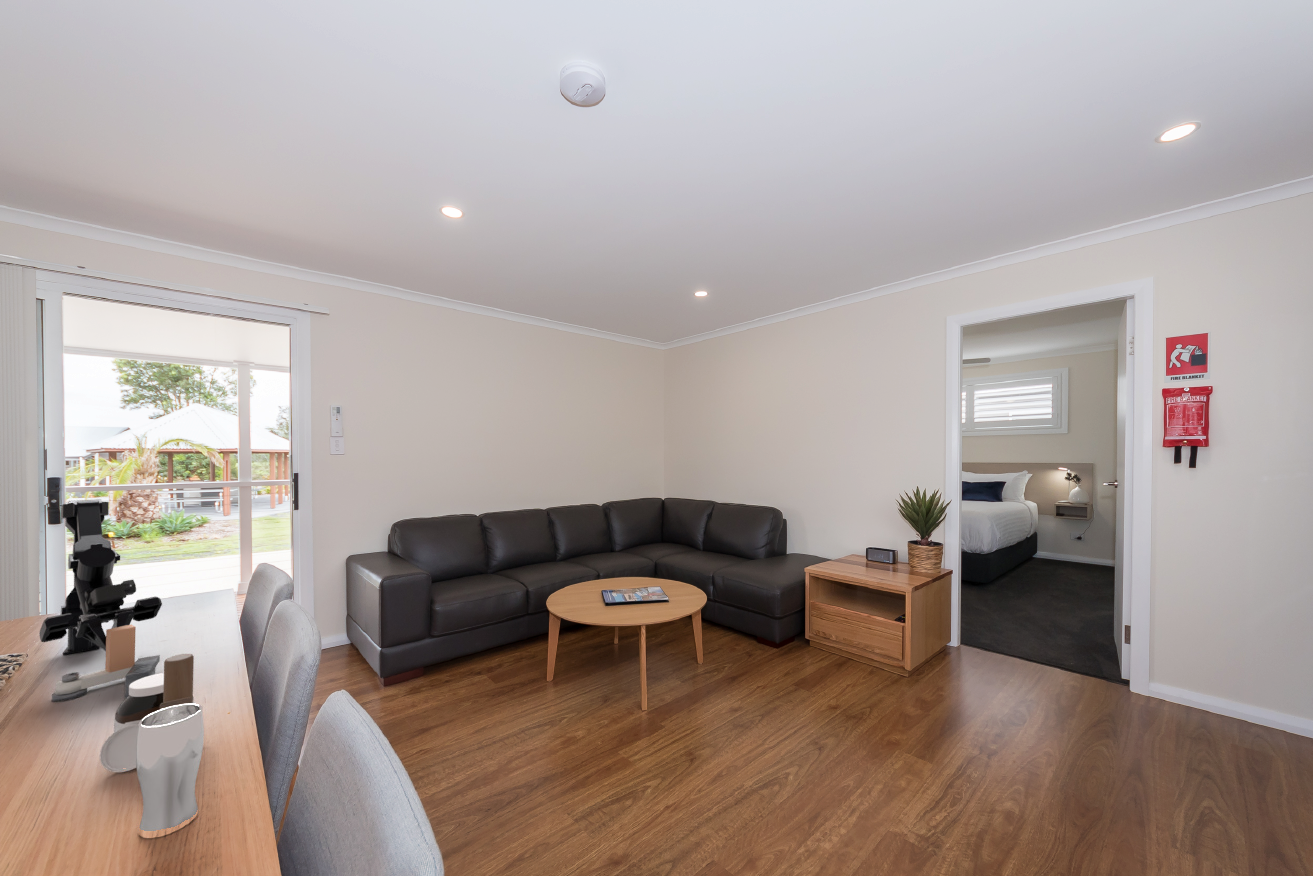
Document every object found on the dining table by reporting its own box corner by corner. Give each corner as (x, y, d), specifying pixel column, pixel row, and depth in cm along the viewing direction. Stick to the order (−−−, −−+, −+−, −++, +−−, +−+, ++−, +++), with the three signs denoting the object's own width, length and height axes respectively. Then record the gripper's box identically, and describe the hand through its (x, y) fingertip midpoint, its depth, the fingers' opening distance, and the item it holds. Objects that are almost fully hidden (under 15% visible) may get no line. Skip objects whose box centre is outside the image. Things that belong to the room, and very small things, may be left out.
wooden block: (157, 800, 78) (160, 678, 78) (161, 767, 86) (163, 656, 86) (190, 789, 80) (193, 671, 80) (191, 758, 88) (193, 650, 88)
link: (58, 696, 107) (59, 643, 107) (53, 691, 109) (54, 639, 110) (156, 670, 120) (157, 622, 120) (150, 666, 122) (151, 619, 122)
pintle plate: (54, 695, 110) (55, 674, 110) (89, 688, 113) (90, 667, 114) (48, 704, 106) (49, 682, 106) (84, 696, 110) (85, 675, 110)
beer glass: (213, 812, 75) (216, 707, 75) (154, 847, 68) (156, 731, 69) (182, 801, 77) (184, 699, 78) (121, 834, 71) (124, 722, 71)
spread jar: (188, 727, 98) (189, 665, 98) (201, 750, 91) (203, 682, 91) (94, 757, 88) (96, 687, 89) (101, 784, 81) (102, 708, 82)
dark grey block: (125, 700, 108) (125, 675, 108) (137, 681, 117) (138, 658, 117) (148, 695, 110) (148, 671, 110) (159, 677, 119) (159, 655, 119)
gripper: (44, 580, 111) (60, 642, 106) (159, 562, 128) (178, 615, 122) (32, 611, 115) (47, 672, 110) (146, 590, 131) (164, 643, 126)
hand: (113, 649), depth 117 cm, fingers closed, pressing on link
